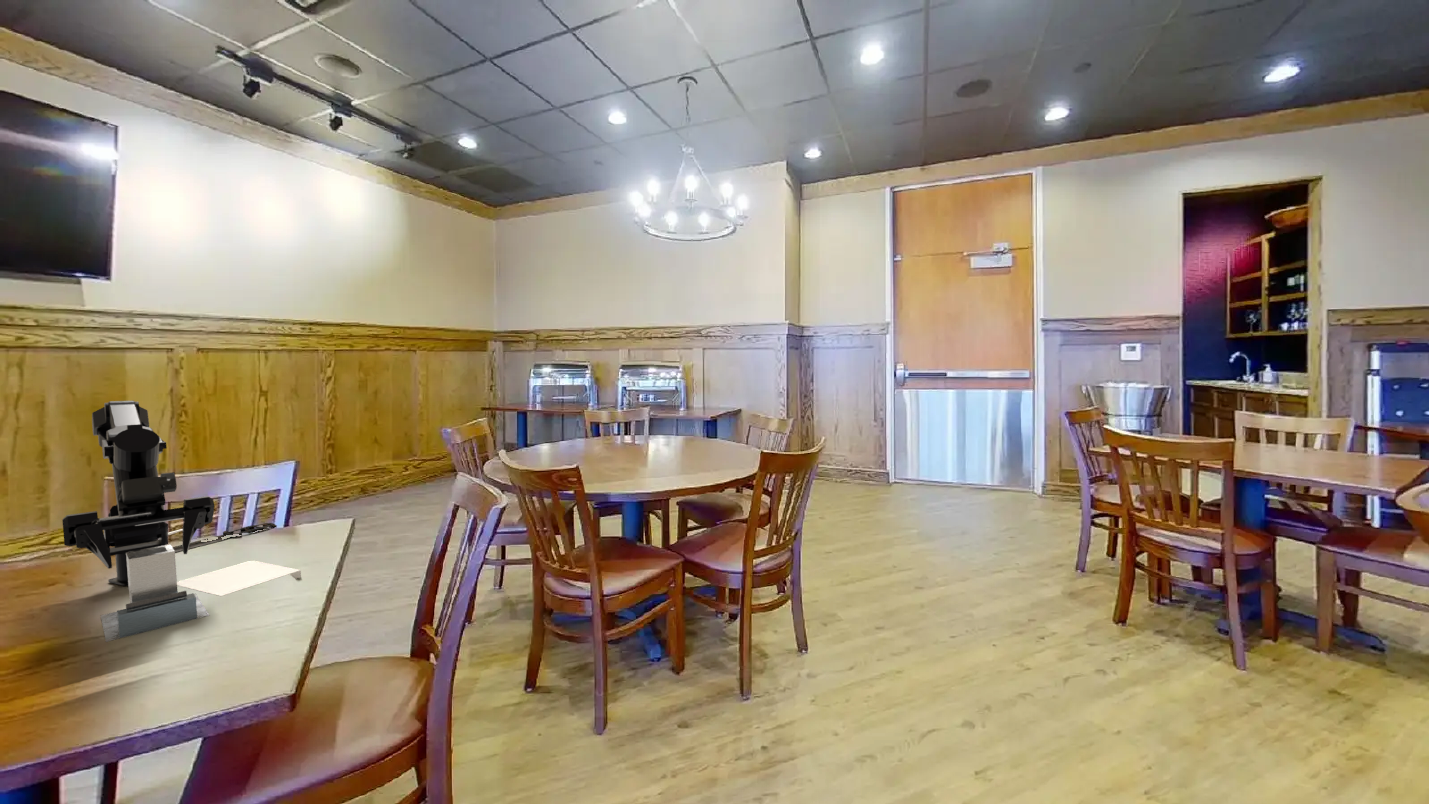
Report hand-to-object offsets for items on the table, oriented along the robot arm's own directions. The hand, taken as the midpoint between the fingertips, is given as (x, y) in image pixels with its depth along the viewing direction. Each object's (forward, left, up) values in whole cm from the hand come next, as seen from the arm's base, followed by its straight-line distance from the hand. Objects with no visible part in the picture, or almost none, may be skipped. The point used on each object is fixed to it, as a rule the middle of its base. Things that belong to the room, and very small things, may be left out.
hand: (149, 559), depth 98 cm
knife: (-41, +31, -11) cm, 53 cm away
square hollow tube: (+3, -1, -9) cm, 9 cm away
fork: (-56, +24, -11) cm, 62 cm away
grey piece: (+3, -1, -10) cm, 11 cm away
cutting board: (-4, +15, -10) cm, 19 cm away
